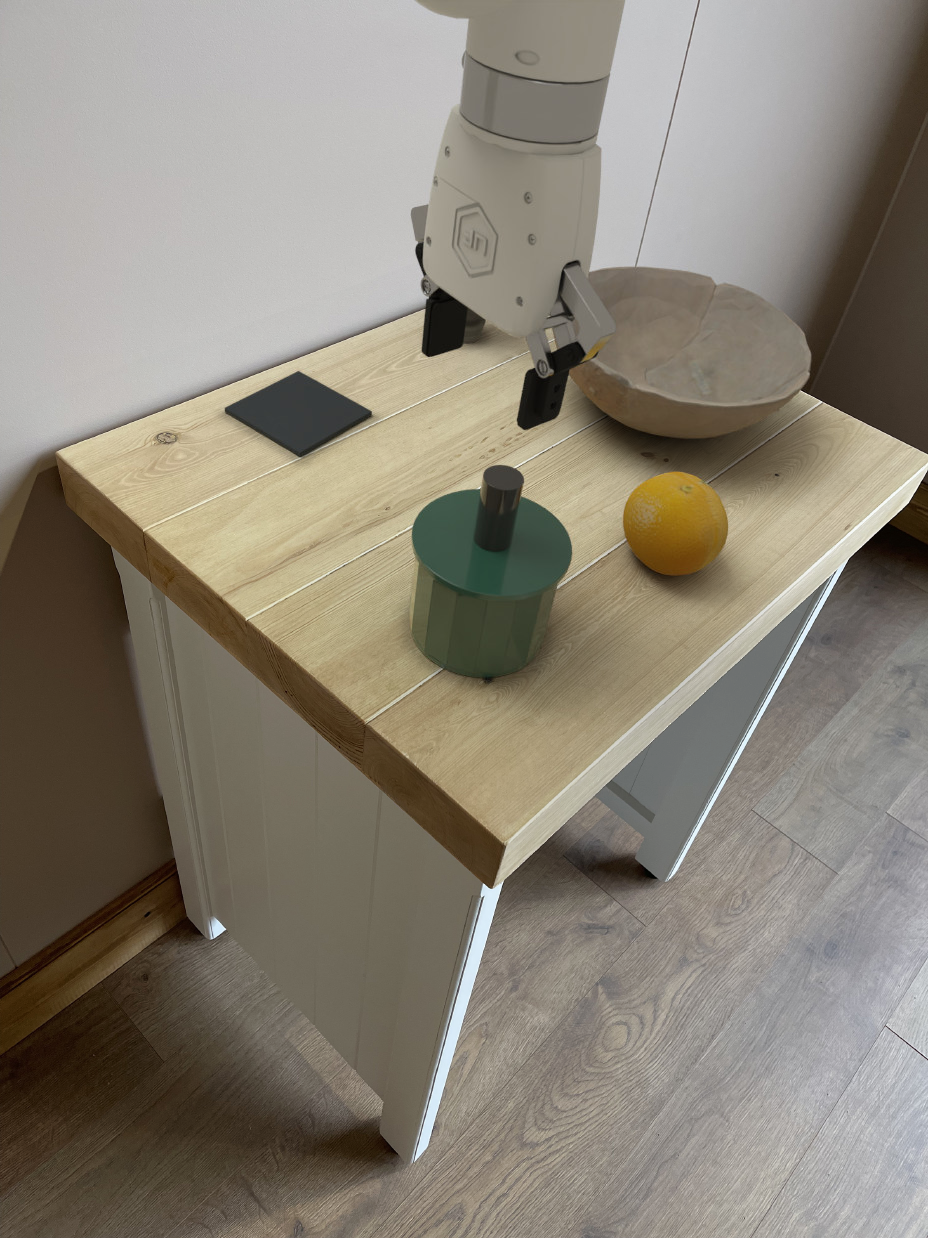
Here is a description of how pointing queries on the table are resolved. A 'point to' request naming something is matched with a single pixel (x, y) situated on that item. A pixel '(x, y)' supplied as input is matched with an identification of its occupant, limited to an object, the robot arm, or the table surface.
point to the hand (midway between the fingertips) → (487, 385)
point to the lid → (492, 540)
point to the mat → (298, 413)
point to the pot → (476, 628)
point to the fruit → (675, 523)
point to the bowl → (690, 354)
